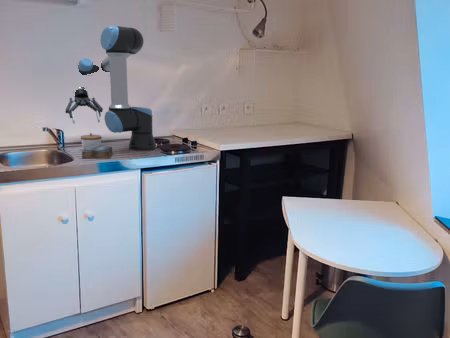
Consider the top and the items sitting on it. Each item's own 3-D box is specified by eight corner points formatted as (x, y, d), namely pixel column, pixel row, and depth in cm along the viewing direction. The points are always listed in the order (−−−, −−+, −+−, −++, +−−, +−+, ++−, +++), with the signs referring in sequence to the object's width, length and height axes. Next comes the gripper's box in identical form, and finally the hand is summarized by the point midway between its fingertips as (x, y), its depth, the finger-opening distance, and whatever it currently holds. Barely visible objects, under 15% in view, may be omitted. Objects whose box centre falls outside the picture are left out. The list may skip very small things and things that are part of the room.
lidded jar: (98, 152, 222) (97, 135, 220) (78, 151, 222) (77, 134, 220) (104, 148, 232) (103, 131, 230) (85, 148, 232) (84, 131, 230)
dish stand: (112, 153, 221) (112, 145, 219) (109, 158, 208) (108, 149, 207) (87, 153, 219) (86, 145, 218) (82, 158, 206) (81, 150, 205)
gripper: (101, 96, 250) (108, 124, 241) (57, 97, 239) (62, 126, 229) (103, 88, 244) (110, 116, 235) (57, 88, 233) (63, 118, 224)
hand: (86, 121), depth 232 cm, fingers open, 13 cm apart
